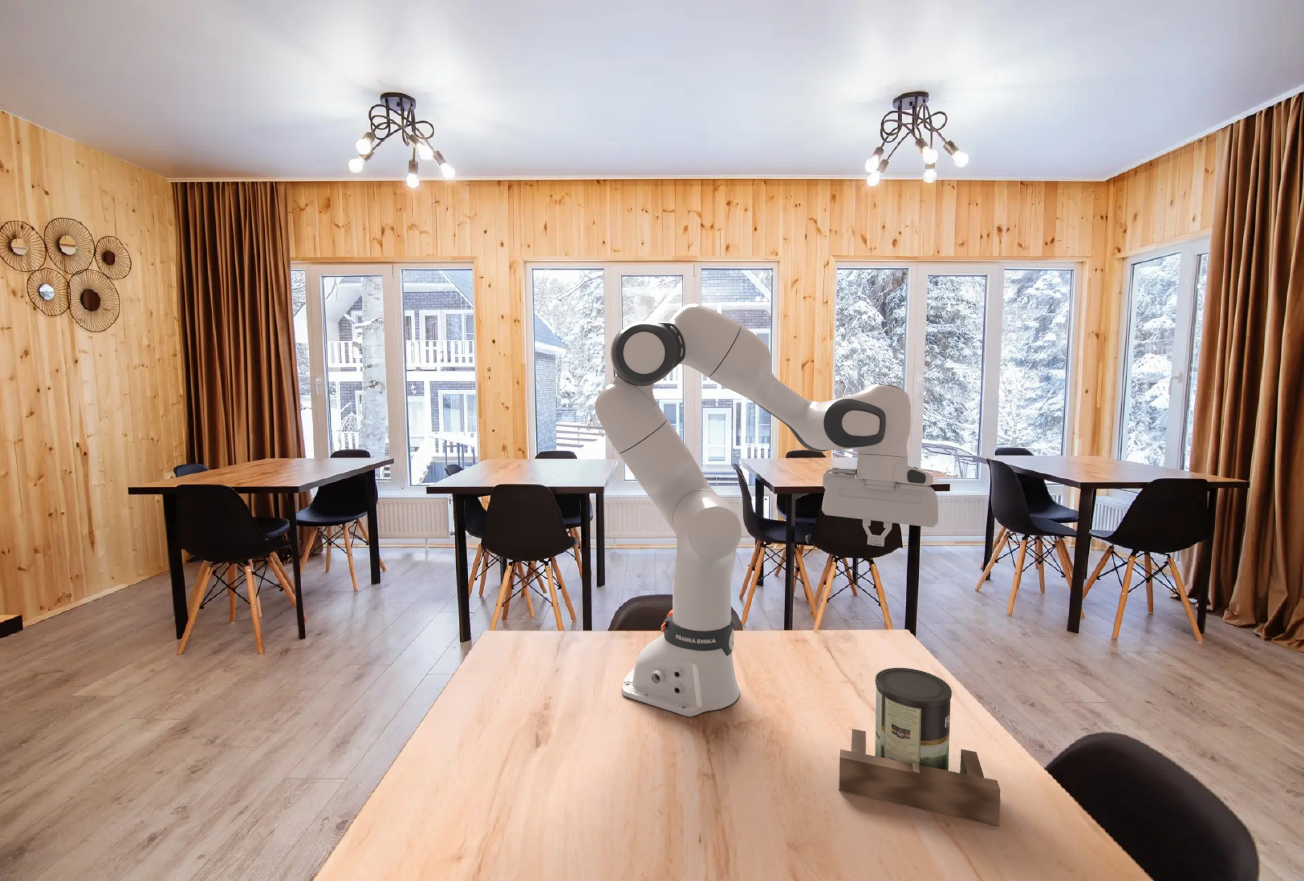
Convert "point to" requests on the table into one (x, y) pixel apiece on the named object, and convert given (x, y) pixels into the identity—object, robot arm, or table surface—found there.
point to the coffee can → (912, 717)
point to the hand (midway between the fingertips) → (875, 545)
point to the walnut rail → (921, 783)
